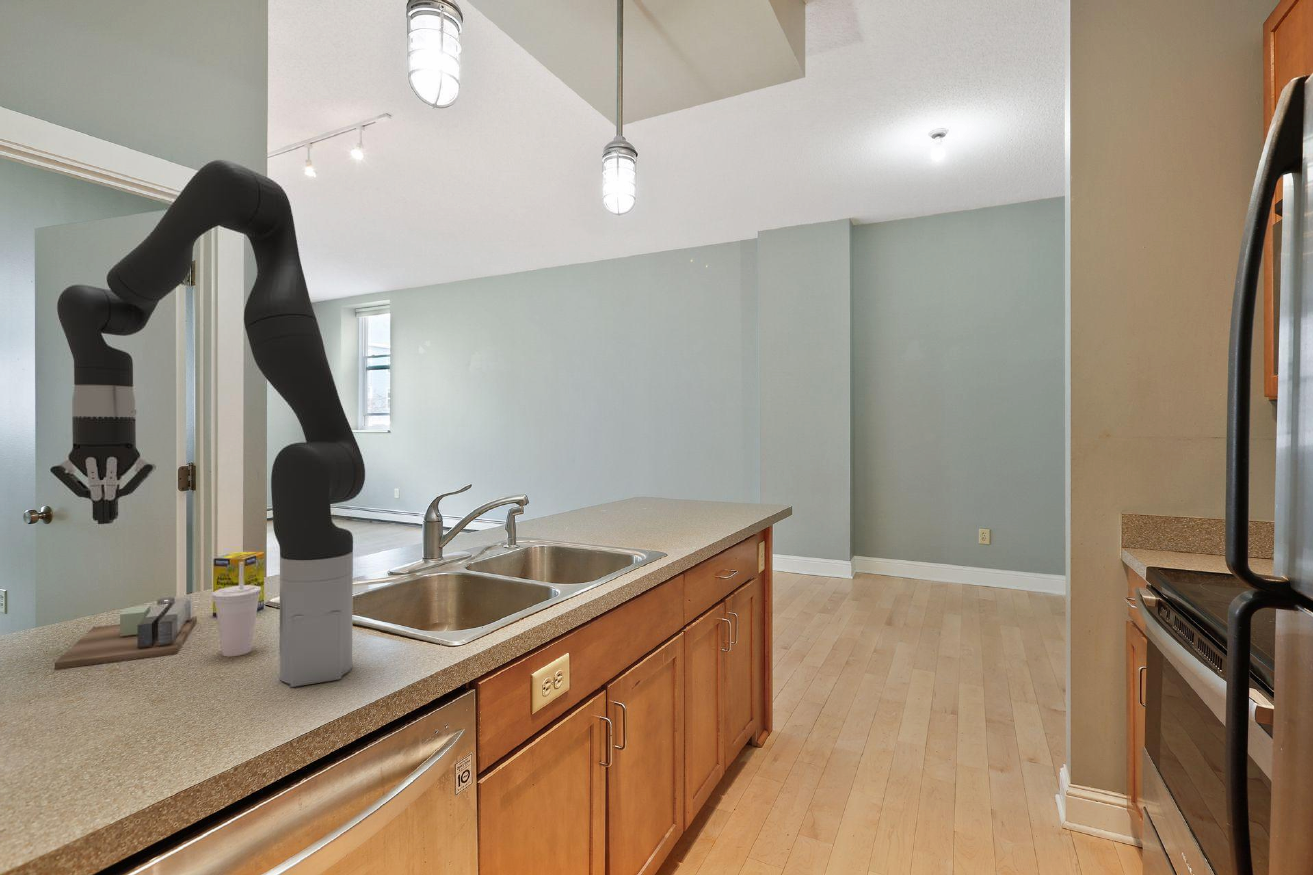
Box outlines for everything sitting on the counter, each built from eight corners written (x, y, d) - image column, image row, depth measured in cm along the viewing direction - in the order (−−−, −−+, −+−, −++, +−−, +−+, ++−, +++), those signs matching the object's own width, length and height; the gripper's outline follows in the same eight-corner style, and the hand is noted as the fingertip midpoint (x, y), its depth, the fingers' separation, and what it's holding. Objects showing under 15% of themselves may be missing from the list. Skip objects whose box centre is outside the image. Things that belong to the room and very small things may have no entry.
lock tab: (144, 633, 100) (144, 612, 100) (120, 636, 99) (120, 614, 98) (150, 626, 103) (150, 605, 103) (127, 628, 102) (127, 607, 102)
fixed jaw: (175, 644, 96) (175, 619, 96) (136, 649, 94) (136, 623, 94) (193, 617, 109) (193, 595, 109) (158, 621, 107) (158, 598, 106)
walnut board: (176, 653, 95) (176, 647, 95) (54, 669, 88) (54, 662, 88) (196, 621, 110) (196, 615, 110) (93, 632, 103) (93, 627, 103)
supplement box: (244, 618, 112) (244, 558, 112) (211, 617, 112) (211, 557, 112) (265, 608, 118) (265, 551, 118) (234, 607, 118) (234, 550, 118)
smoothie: (266, 652, 96) (266, 562, 96) (217, 663, 91) (217, 569, 91) (254, 641, 101) (255, 556, 100) (207, 651, 96) (207, 562, 96)
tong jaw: (151, 646, 95) (151, 623, 94) (137, 648, 94) (137, 624, 94) (169, 624, 105) (169, 603, 105) (156, 625, 104) (156, 604, 104)
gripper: (38, 414, 92) (40, 530, 92) (151, 415, 98) (152, 523, 98) (57, 414, 98) (58, 522, 99) (162, 415, 105) (163, 517, 105)
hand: (105, 523), depth 99 cm, fingers closed
